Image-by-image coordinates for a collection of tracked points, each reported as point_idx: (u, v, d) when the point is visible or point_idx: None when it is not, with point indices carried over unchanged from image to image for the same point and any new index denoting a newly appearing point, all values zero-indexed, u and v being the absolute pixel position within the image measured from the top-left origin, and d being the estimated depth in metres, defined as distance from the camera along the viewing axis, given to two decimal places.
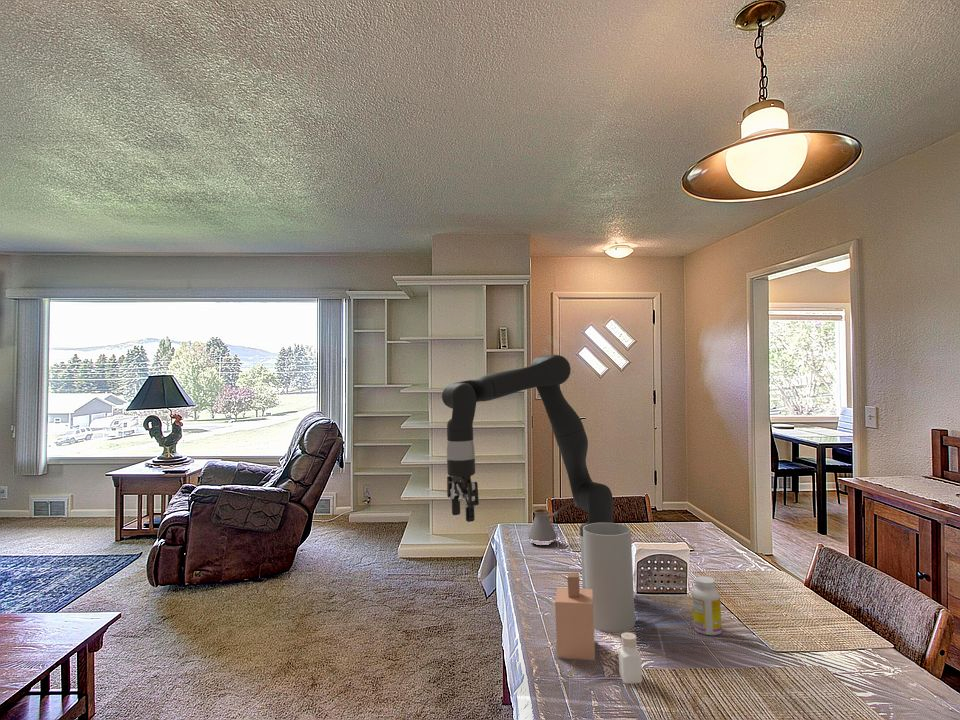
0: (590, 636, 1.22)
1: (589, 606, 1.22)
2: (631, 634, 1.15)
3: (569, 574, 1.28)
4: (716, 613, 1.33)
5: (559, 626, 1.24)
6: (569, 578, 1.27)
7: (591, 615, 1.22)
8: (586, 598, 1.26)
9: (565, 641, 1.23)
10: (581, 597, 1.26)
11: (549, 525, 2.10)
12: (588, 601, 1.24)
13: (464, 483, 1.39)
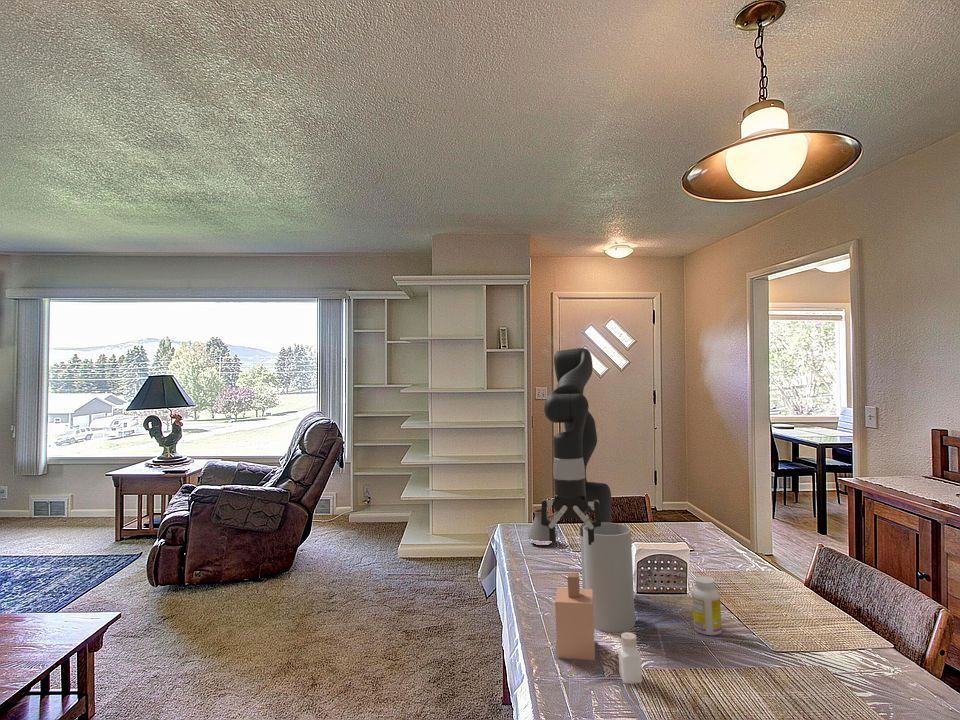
0: (590, 636, 1.22)
1: (589, 606, 1.22)
2: (631, 634, 1.15)
3: (569, 574, 1.28)
4: (716, 613, 1.33)
5: (559, 626, 1.24)
6: (569, 578, 1.27)
7: (591, 615, 1.22)
8: (586, 598, 1.26)
9: (565, 641, 1.23)
10: (581, 597, 1.26)
11: None
12: (588, 601, 1.24)
13: (585, 503, 1.27)
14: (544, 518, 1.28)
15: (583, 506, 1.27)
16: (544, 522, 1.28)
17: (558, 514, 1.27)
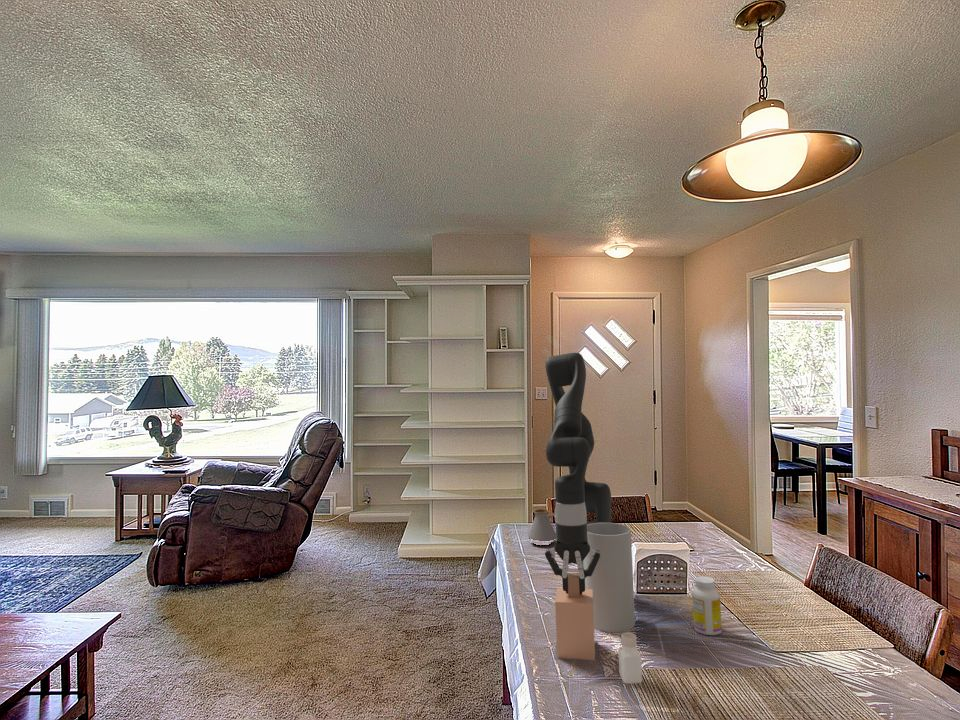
0: (590, 636, 1.22)
1: (589, 606, 1.22)
2: (631, 634, 1.15)
3: (569, 574, 1.28)
4: (716, 613, 1.33)
5: (559, 626, 1.24)
6: (569, 578, 1.27)
7: (591, 615, 1.22)
8: (587, 598, 1.26)
9: (565, 641, 1.23)
10: (581, 597, 1.26)
11: (549, 525, 2.10)
12: (588, 601, 1.24)
13: (587, 550, 1.26)
14: (555, 568, 1.27)
15: (584, 551, 1.26)
16: (557, 571, 1.27)
17: (564, 561, 1.26)
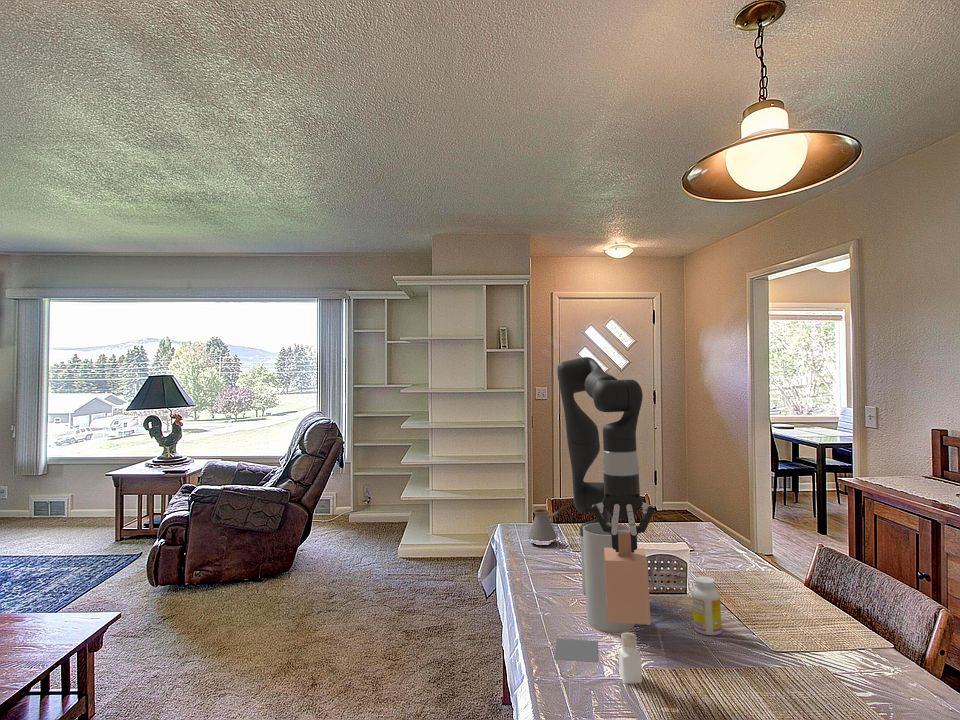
0: (645, 598, 1.10)
1: (644, 564, 1.10)
2: (631, 634, 1.15)
3: (619, 531, 1.16)
4: (716, 613, 1.33)
5: (610, 587, 1.11)
6: (620, 535, 1.14)
7: (646, 574, 1.10)
8: (639, 556, 1.13)
9: (616, 603, 1.11)
10: (633, 556, 1.14)
11: (549, 525, 2.10)
12: (642, 559, 1.11)
13: (640, 503, 1.14)
14: (603, 524, 1.15)
15: (636, 505, 1.14)
16: (606, 528, 1.15)
17: (614, 516, 1.14)
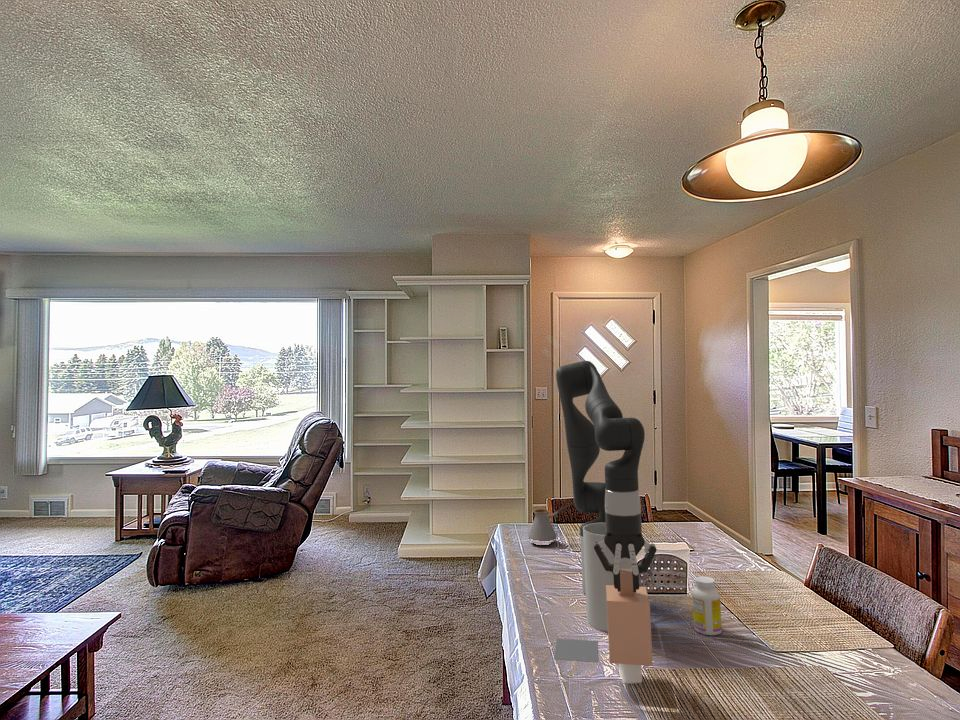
0: (647, 639, 1.09)
1: (646, 605, 1.10)
2: None
3: (621, 570, 1.15)
4: (716, 613, 1.33)
5: (612, 628, 1.11)
6: (621, 574, 1.14)
7: (648, 615, 1.09)
8: (641, 596, 1.13)
9: (618, 644, 1.10)
10: (635, 595, 1.13)
11: (549, 525, 2.10)
12: (644, 600, 1.11)
13: (642, 543, 1.13)
14: (605, 563, 1.15)
15: (638, 544, 1.13)
16: (607, 567, 1.14)
17: (616, 556, 1.14)
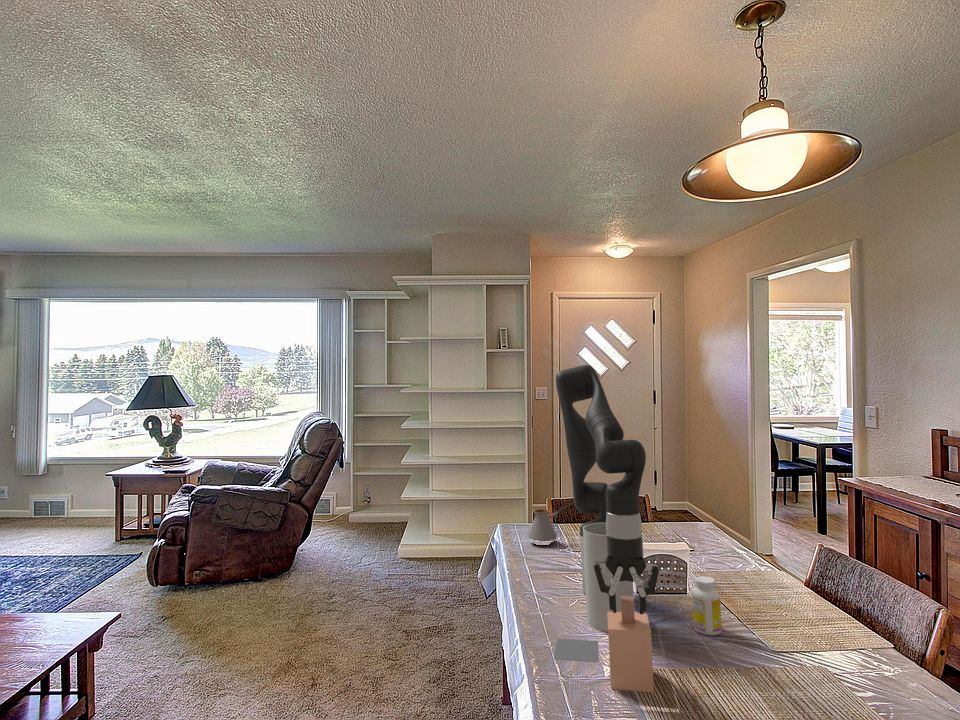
0: (648, 668, 1.09)
1: (647, 634, 1.09)
2: None
3: (622, 597, 1.15)
4: (716, 613, 1.33)
5: (613, 656, 1.11)
6: (623, 602, 1.13)
7: (649, 644, 1.09)
8: (643, 624, 1.12)
9: (620, 673, 1.10)
10: (636, 623, 1.13)
11: (549, 525, 2.10)
12: (645, 628, 1.11)
13: (643, 565, 1.13)
14: (602, 584, 1.14)
15: (640, 567, 1.13)
16: (603, 588, 1.14)
17: (615, 578, 1.13)
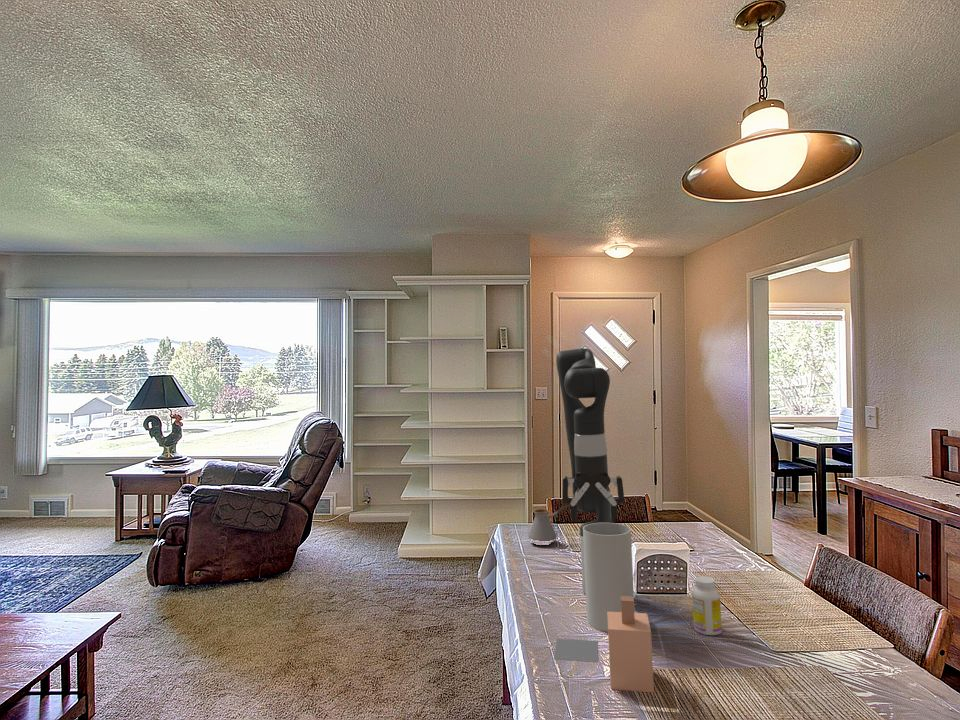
0: (648, 668, 1.09)
1: (647, 634, 1.09)
2: None
3: (622, 597, 1.15)
4: (716, 613, 1.33)
5: (613, 656, 1.11)
6: (623, 602, 1.13)
7: (649, 644, 1.09)
8: (643, 624, 1.12)
9: (620, 673, 1.10)
10: (636, 623, 1.13)
11: (549, 525, 2.10)
12: (645, 628, 1.11)
13: (608, 480, 1.24)
14: (566, 496, 1.25)
15: (606, 483, 1.24)
16: (566, 500, 1.25)
17: (580, 491, 1.24)
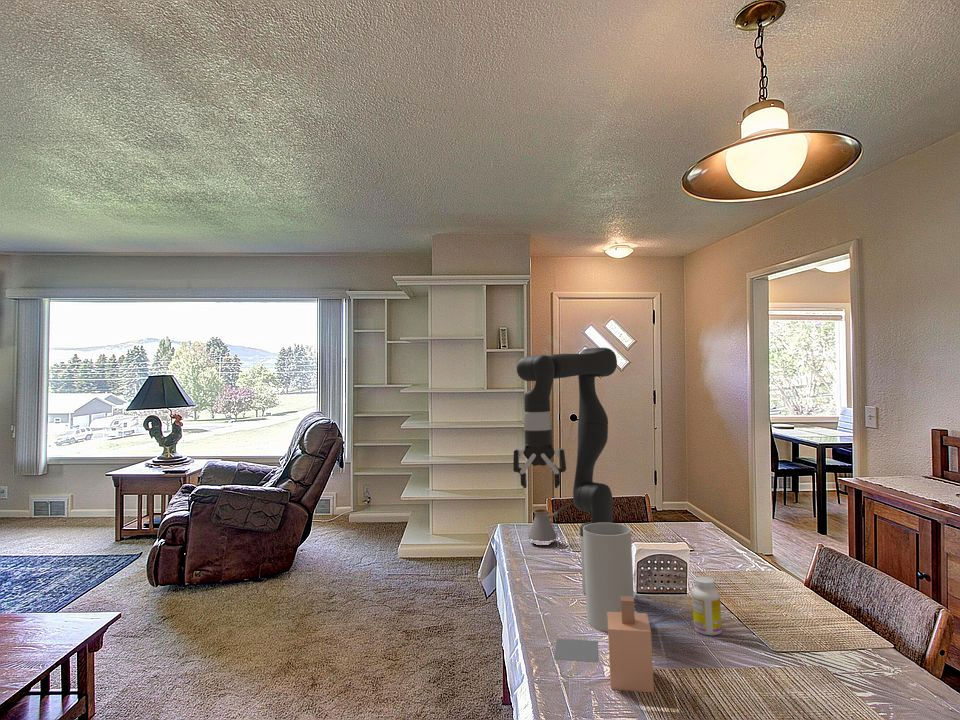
0: (648, 668, 1.09)
1: (647, 634, 1.09)
2: None
3: (622, 597, 1.15)
4: (716, 613, 1.33)
5: (613, 656, 1.11)
6: (623, 602, 1.13)
7: (649, 644, 1.09)
8: (643, 624, 1.12)
9: (620, 673, 1.10)
10: (636, 623, 1.13)
11: (549, 525, 2.10)
12: (645, 628, 1.11)
13: (552, 451, 1.43)
14: (516, 465, 1.45)
15: (550, 454, 1.43)
16: (516, 469, 1.45)
17: (528, 461, 1.44)
